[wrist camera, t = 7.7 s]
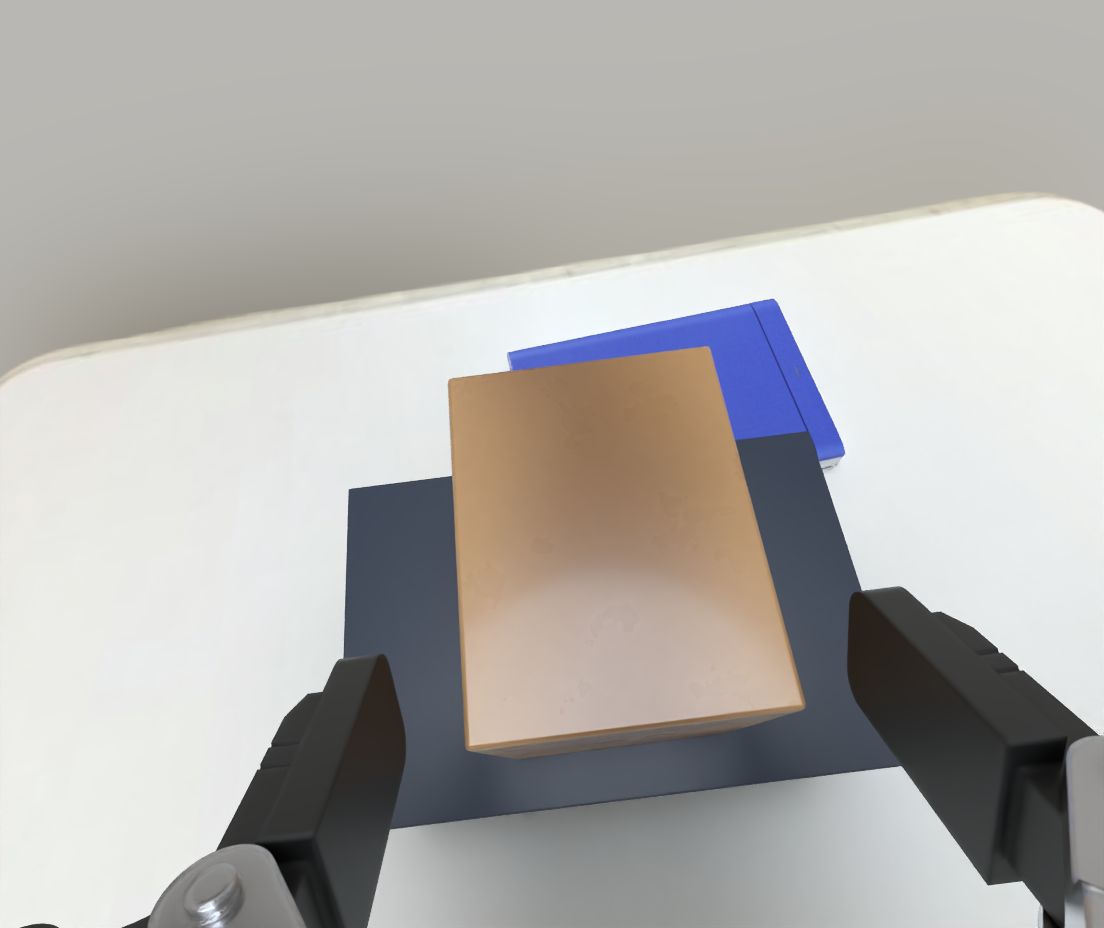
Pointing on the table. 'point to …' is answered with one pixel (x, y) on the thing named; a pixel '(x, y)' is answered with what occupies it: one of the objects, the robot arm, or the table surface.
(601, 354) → the blue notebook
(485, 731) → the small box
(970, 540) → the table surface
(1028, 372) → the table surface
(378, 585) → the storage box
